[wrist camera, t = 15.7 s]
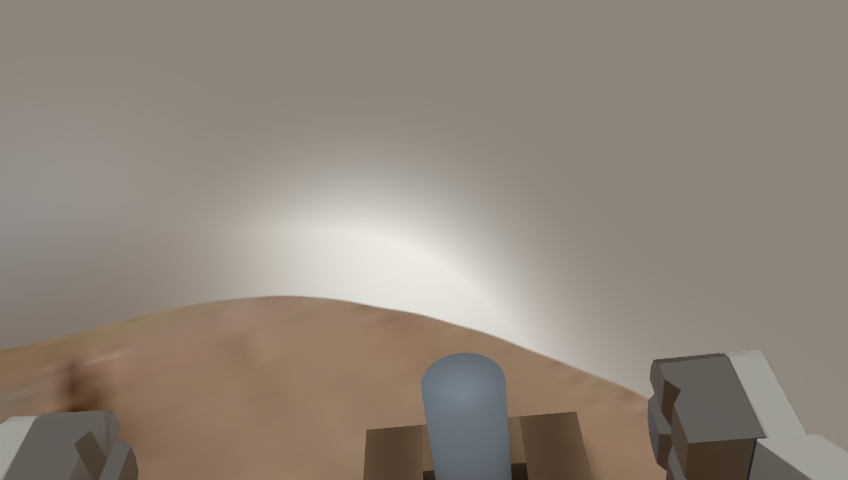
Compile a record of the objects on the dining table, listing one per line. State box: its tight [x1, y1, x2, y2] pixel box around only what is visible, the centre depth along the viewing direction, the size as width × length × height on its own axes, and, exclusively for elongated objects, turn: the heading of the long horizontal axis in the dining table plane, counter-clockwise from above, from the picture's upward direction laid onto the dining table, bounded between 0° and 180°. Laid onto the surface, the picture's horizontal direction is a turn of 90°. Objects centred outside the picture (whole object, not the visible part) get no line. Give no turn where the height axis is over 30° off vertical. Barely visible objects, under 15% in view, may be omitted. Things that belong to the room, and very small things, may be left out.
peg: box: [421, 353, 512, 480], centre depth 41 cm, size 4×4×14 cm
